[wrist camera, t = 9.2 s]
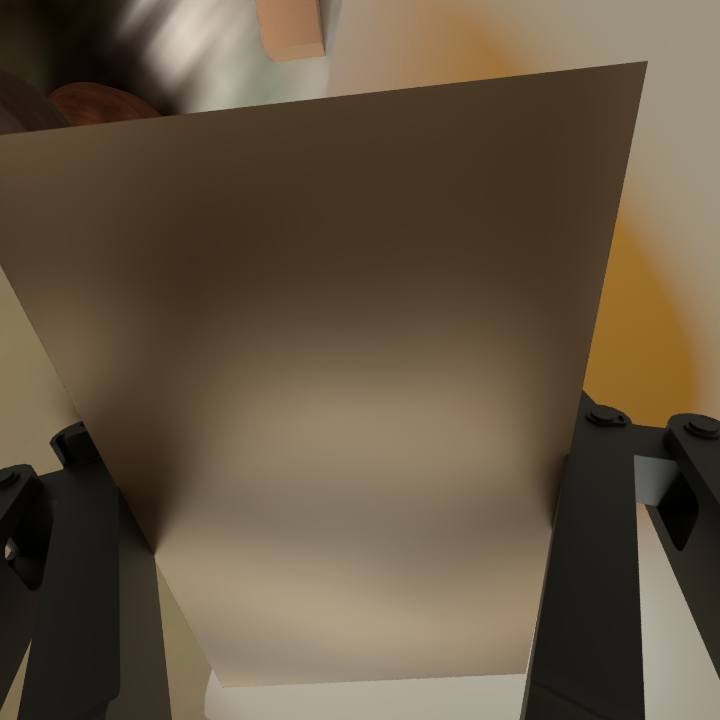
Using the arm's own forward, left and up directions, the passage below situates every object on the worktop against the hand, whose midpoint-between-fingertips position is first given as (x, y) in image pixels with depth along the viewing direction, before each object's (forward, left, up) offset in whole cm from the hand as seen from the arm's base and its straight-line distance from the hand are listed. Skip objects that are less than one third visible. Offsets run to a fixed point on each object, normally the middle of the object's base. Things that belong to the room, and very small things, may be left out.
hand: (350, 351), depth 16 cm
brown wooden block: (0, 0, -2) cm, 2 cm away
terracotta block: (-16, -3, -23) cm, 29 cm away
